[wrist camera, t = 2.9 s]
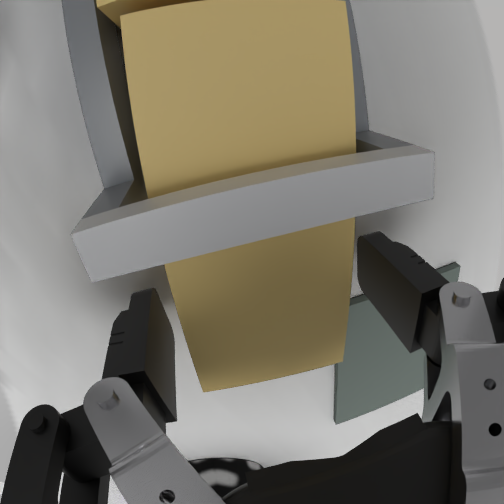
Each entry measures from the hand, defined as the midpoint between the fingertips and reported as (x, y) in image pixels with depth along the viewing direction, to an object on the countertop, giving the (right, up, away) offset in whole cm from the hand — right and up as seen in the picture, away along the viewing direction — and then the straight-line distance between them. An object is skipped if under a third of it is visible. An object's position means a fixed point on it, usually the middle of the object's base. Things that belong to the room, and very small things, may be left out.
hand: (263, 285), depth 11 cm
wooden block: (-1, +3, 0) cm, 3 cm away
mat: (+7, -5, +6) cm, 10 cm away
